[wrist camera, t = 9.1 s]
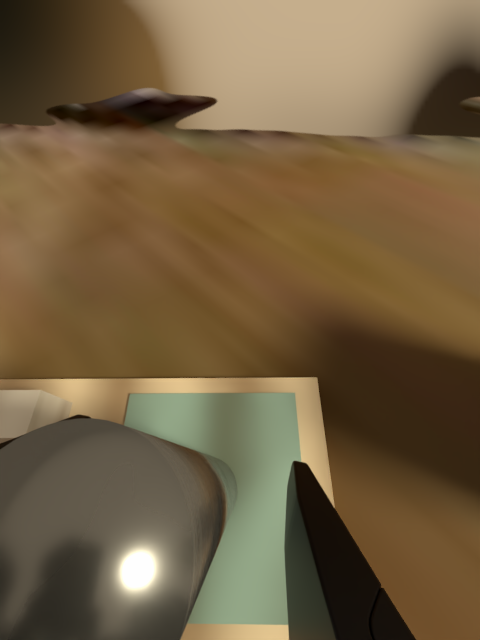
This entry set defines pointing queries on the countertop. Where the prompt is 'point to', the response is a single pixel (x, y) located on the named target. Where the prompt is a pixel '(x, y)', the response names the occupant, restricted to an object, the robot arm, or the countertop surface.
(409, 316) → the countertop surface
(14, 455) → the key rod
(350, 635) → the robot arm
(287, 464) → the board
